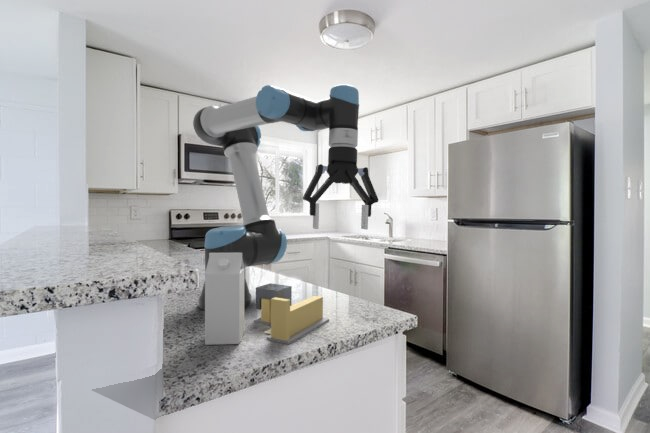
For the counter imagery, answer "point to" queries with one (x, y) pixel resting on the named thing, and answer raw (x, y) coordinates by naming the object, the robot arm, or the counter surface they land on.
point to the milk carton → (224, 299)
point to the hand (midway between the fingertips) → (340, 229)
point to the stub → (265, 313)
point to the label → (268, 331)
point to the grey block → (272, 293)
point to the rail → (295, 318)
